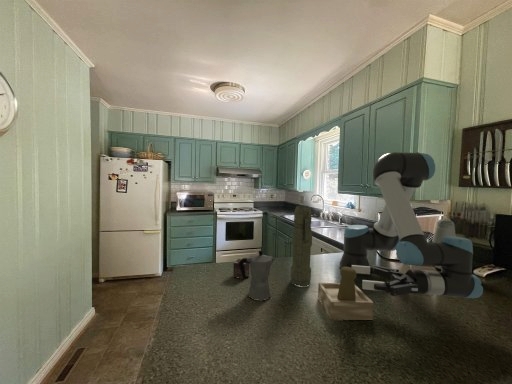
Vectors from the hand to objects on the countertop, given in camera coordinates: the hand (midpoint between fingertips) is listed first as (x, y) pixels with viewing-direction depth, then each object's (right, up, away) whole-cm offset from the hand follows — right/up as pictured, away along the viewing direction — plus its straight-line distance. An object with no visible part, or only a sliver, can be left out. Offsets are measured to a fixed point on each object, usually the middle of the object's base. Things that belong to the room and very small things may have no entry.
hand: (356, 276), depth 78 cm
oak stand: (-4, -12, +1) cm, 13 cm away
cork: (-4, -8, -2) cm, 9 cm away
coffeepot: (-35, -11, +9) cm, 38 cm away
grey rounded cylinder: (+67, -13, +43) cm, 80 cm away
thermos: (-16, -11, +21) cm, 29 cm away
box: (-43, -11, +27) cm, 51 cm away
